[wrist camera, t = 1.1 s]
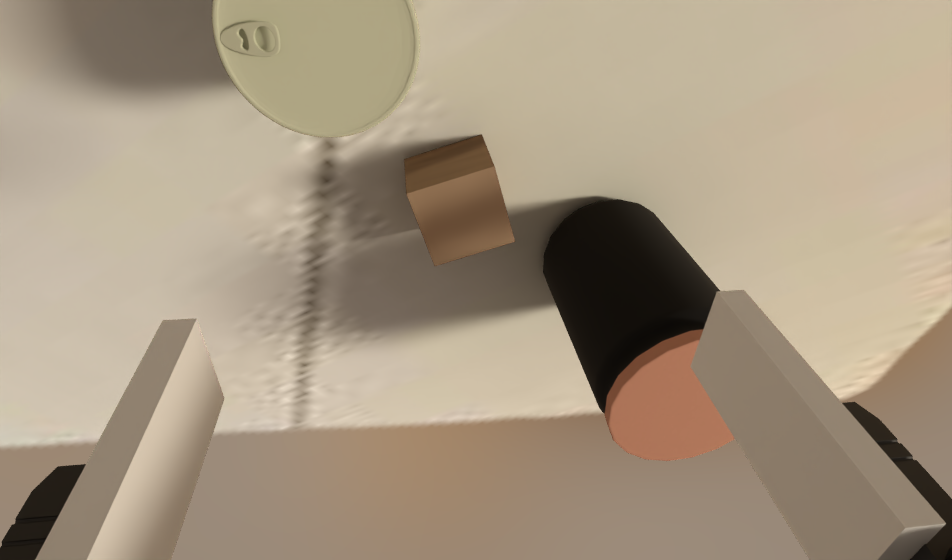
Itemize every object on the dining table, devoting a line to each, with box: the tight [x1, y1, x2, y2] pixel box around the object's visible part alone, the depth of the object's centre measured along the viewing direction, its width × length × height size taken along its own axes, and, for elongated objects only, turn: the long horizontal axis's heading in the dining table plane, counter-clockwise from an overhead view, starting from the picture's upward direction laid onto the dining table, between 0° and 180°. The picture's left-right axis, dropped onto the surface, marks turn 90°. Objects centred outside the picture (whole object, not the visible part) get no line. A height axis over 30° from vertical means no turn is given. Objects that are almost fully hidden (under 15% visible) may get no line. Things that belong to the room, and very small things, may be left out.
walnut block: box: [404, 135, 515, 266], centre depth 40 cm, size 6×6×6 cm
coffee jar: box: [543, 199, 735, 461], centre depth 40 cm, size 11×11×18 cm
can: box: [212, 0, 420, 138], centre depth 29 cm, size 9×9×12 cm
